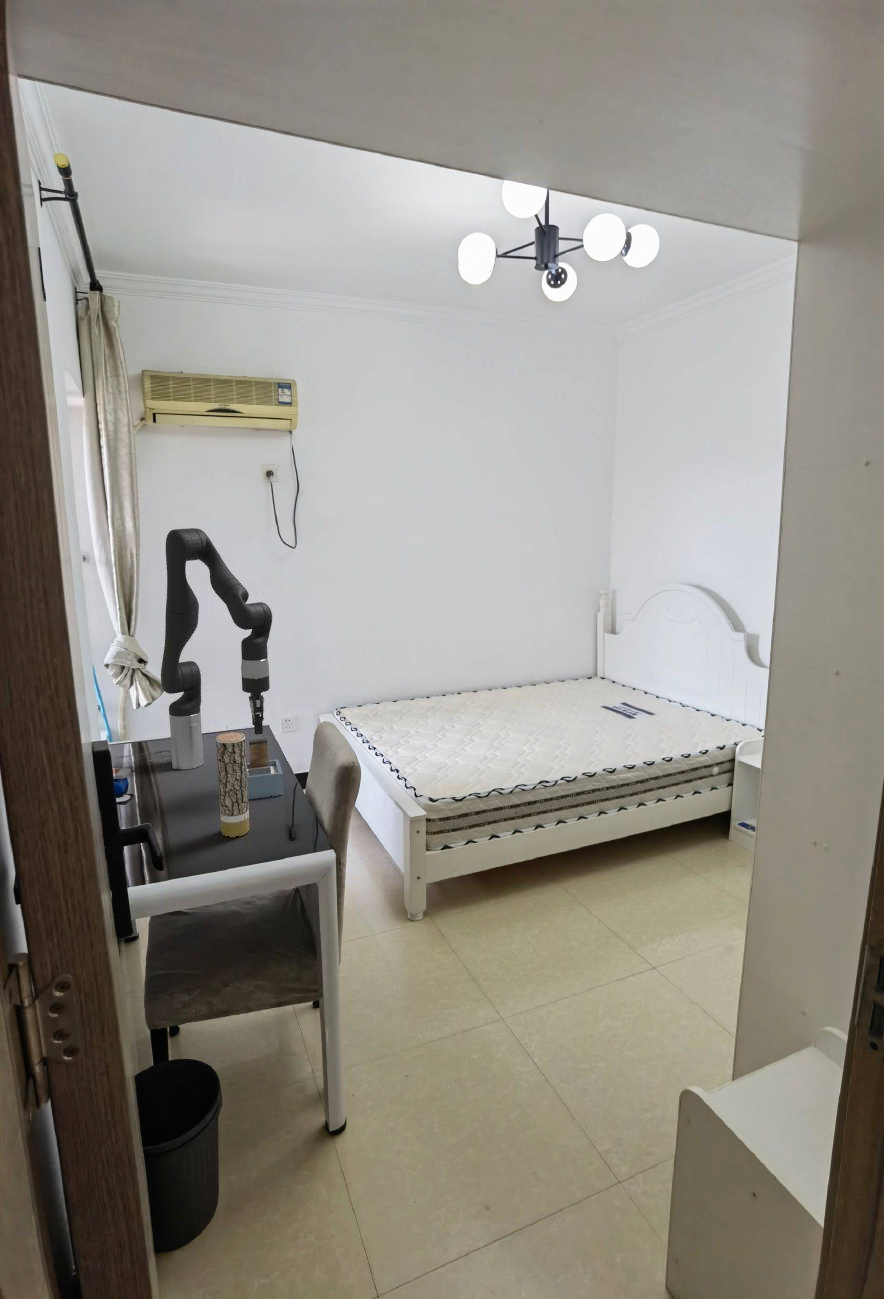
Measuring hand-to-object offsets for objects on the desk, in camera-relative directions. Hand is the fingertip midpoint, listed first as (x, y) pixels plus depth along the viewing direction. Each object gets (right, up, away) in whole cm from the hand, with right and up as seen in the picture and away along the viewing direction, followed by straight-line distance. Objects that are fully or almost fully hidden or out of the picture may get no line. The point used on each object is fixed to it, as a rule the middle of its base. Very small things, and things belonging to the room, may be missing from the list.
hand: (257, 729), depth 194 cm
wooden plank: (0, -13, +2) cm, 13 cm away
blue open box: (0, -18, +3) cm, 18 cm away
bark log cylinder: (+1, -23, -23) cm, 33 cm away
